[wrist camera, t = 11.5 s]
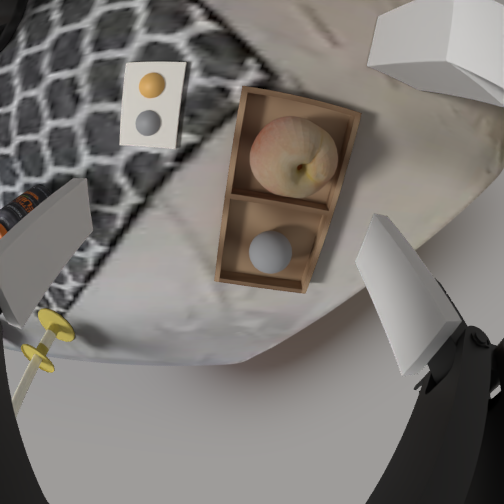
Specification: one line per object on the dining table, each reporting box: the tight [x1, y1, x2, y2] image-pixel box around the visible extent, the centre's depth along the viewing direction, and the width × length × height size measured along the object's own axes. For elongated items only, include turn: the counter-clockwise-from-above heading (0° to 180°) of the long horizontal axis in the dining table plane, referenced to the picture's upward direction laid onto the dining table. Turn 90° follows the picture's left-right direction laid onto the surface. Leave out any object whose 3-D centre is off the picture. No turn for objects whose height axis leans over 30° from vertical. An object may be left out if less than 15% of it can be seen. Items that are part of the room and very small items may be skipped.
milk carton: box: [367, 0, 504, 107], centre depth 14 cm, size 7×7×19 cm
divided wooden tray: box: [214, 86, 362, 294], centre depth 31 cm, size 24×12×2 cm, turn 170°
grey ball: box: [249, 231, 292, 274], centre depth 33 cm, size 5×5×5 cm
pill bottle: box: [0, 185, 51, 239], centre depth 28 cm, size 6×6×11 cm
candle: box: [12, 308, 75, 417], centre depth 36 cm, size 10×10×27 cm
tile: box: [120, 62, 187, 149], centre depth 26 cm, size 10×7×1 cm
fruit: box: [250, 116, 338, 198], centre depth 25 cm, size 8×8×8 cm
